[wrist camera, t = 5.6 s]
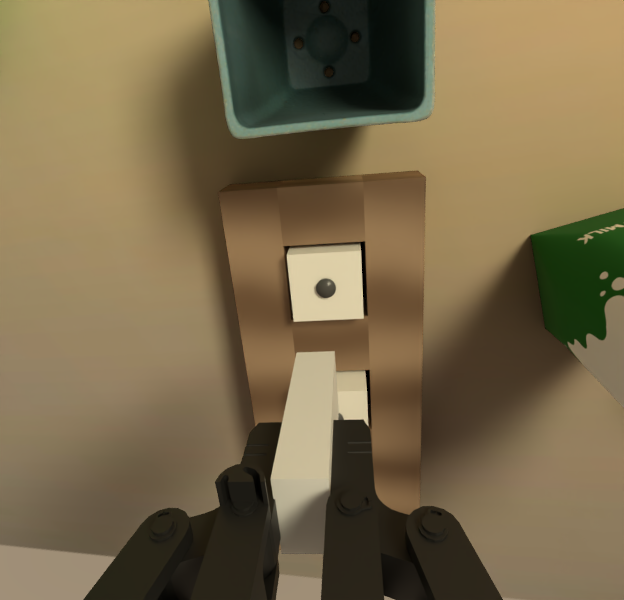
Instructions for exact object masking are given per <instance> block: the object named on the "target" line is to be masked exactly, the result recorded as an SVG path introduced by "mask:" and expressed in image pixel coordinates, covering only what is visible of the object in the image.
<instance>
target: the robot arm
mask: <svg viewBox="0 0 624 600" xmlns="http://www.w3.org/2000/svg"><path fill="white" fill-rule="evenodd" d="M338 413H339V407H338V393H337V378H336V364H335V351H325V352H297V353H296V358H295V363H294V368H293V372H292V377H291V382H290V387H289V392H288V397H287V401H286V406H285V411H284V416H283V421H282V422H264V423H258V424H257V425H256V427H255V428H254V429H253V430H252V431H251V432H250V434H249V438H248V441H247V446H246V448H245V451H244V456H243V458H242V461H241V464H238V465H234V466H232V467H230V468H227V469H226V470H225V471H223V472H222V473H221V474H220V475H219V476H218V478H217V480H216V481H215V484H216V488H217V493H218V498H219V502H220V507H218V508H216V509H215V510H213V511H210V512H208V513H205V514H201V515H197V516H194V517H190V518H189V517H188V515H187V514H186V512H185V511H183V510H181V509H178V508H167V509H163V510H160V511H158V512H156V513H154V514H152V515H151V516H149V517H148V518H147V519H146V520H145V521H144V522H143V523H142V524H141V525H140V527H139V528H138V529H137V531H136V532H135V533H134V535H133V536H132V537H131V538H130V540H129V541H128V542H127V544H126V545H125V546H124V548H123V549H122V550H121V551H120V553H119V554H118V555H117V557H116V558H115V559H114V561H113V562H112V563H111V564H110V566H109V567H108V568H107V570H106V571H105V572H104V574H103V575H102V576H101V577H100V579H99V580H98V581H97V583H96V584H95V585H94V587H93V588H92V589H91V590H90V592H89V593H88V594H87V596H86V597H85V598H84V600H276V593H277V586H278V578H279V563H278V553H279V546H281V552H282V554H324V555H323V573H322V592H321V600H384V596H387V597H390V598H393V599H395V600H503V599H502V597H501V595H500V594H499V592H498V590H497V588H496V587H495V585H494V583H493V581H492V580H491V578H490V576H489V574H488V573H487V571H486V569H485V567H484V566H483V564H482V562H481V560H480V559H479V557H478V555H477V553H476V552H475V550H474V548H473V546H472V545H471V543H470V541H469V539H468V537H467V536H466V534H465V532H464V530H463V529H462V527H461V525H460V523H459V522H458V521H457V520H456V518H455V517H454V516H453V515H452V514H450V513H449V512H447V511H446V510H444V509H441V508H438V507H434V506H424V507H420V508H418V509H415V510H414V511H413V512H412V513H411V514H410V515H408V514H404V513H401V512H398V511H395V510H392V509H390V508H389V507H387V506H386V505H384V504H383V503H382V502H381V501H380V499H379V498H378V496H377V494H376V491H375V483H374V470H373V457H372V444H371V431H370V428H369V427H368V425H367V424H366V423H365V421H364V420H363V419H360V420H338Z"/></svg>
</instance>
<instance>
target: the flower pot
mask: <svg viewBox="0 0 624 600" xmlns="http://www.w3.org/2000/svg"><path fill="white" fill-rule="evenodd" d="M208 1H209V8H210V14H211V21H212V28H213V34H214V41H215V47H216V53H217V60H218V65H219V73H220V80H221V86H222V94H223V101H224V107H225V118H226V122H227V126H228V129H229V131H230V133H231V135H232V136H233V137H235V138H238V139H249V138H258V137H264V136H273V135H282V134H290V133H297V132H298V133H300V132H308V131H316V130H328V129H337V128H347V127H356V126H367V125H380V124H391V123H406V122H416V121H421V120H424V119H427V118H428V117H429V116H430V115H431V114H432V112H433V109H434V102H435V0H208ZM324 1H326V2H327V3H328V4H329V10H328V11H327V12H325V13H323V12H321V10H320V4H321V3H322V2H324ZM353 32H357V33H358V34H359V40H358V41H357V42H352V41H351V38H350V36H351V34H352V33H353ZM298 38H299V39H301V40H302V41H303V47H302V48H301V49H297V48H296V47H295V45H294V42H295V40H296V39H298ZM328 67H330V68H332V69H333V75H332V76H331V77H327V76H326V75H325V73H324V71H325V69H326V68H328Z"/></svg>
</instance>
